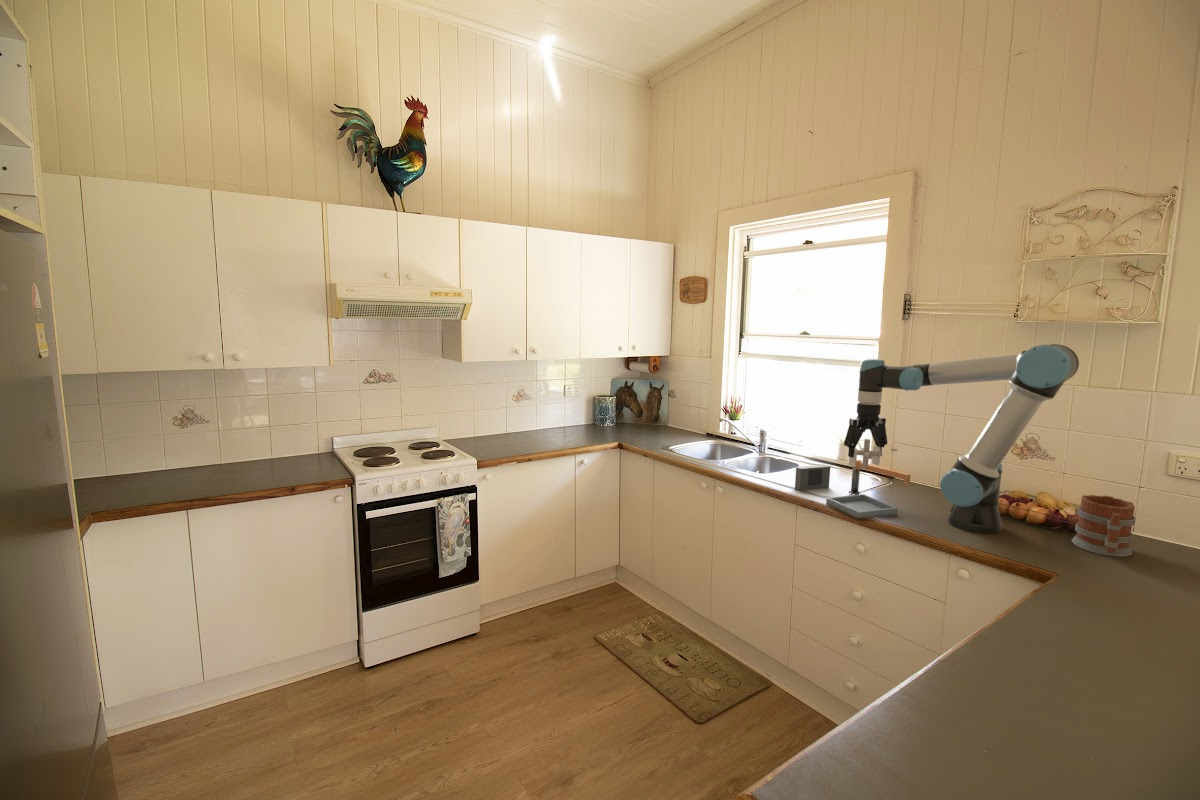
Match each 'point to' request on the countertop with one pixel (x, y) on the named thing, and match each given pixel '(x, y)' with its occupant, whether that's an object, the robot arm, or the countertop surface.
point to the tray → (861, 506)
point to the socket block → (812, 477)
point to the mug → (1105, 526)
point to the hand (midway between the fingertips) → (864, 464)
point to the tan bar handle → (884, 471)
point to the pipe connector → (867, 453)
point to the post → (855, 482)
